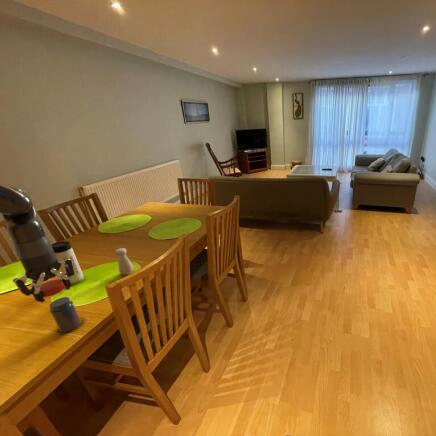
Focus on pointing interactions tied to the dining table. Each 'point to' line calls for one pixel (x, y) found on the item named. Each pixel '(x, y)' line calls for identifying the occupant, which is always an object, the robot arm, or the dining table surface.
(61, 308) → the jar
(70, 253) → the travel mug
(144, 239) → the dining table surface
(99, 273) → the dining table surface
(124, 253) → the salt shaker
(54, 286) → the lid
